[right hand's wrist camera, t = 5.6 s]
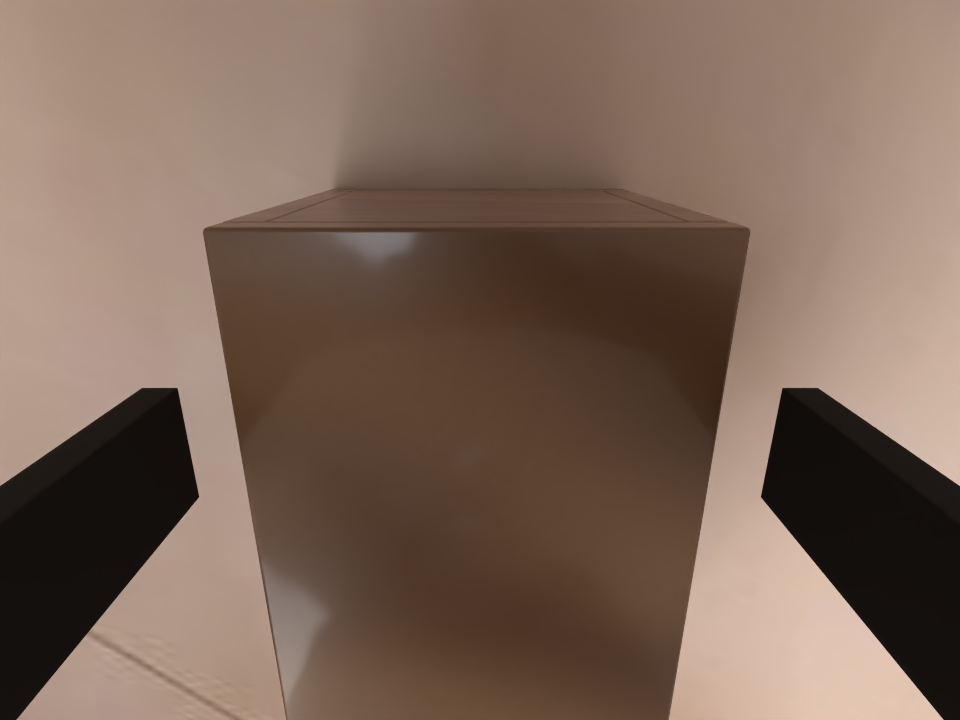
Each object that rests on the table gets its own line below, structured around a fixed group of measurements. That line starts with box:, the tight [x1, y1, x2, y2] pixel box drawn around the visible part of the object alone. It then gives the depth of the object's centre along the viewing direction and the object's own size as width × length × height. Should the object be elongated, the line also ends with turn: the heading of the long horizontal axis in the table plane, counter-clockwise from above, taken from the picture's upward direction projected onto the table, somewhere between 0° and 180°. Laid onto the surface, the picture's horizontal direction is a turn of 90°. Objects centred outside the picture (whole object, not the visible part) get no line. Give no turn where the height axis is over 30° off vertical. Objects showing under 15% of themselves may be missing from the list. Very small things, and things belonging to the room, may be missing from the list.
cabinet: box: [203, 189, 750, 720], centre depth 20 cm, size 21×11×11 cm, turn 0°
